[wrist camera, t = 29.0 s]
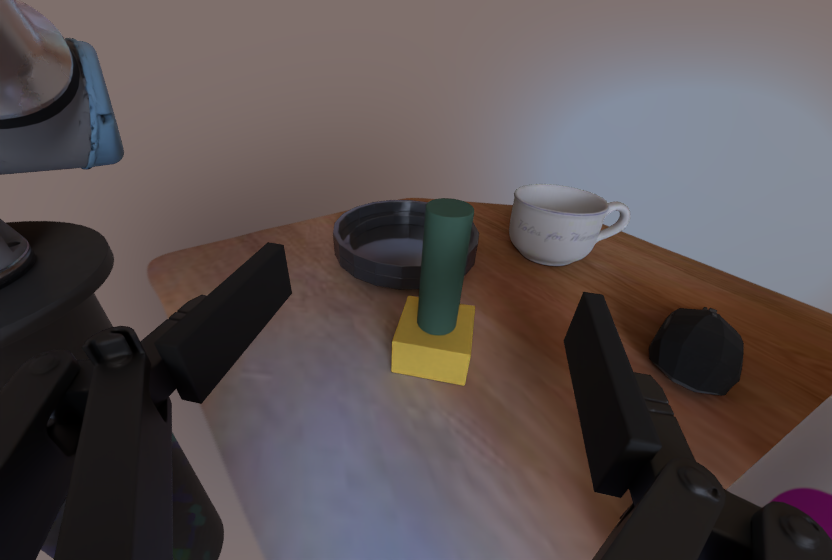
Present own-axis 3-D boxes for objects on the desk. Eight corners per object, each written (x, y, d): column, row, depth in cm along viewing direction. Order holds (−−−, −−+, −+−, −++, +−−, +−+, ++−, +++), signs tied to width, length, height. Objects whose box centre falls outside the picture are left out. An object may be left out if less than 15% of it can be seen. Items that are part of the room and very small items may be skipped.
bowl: (311, 279, 39) (307, 251, 37) (361, 216, 53) (361, 193, 51) (468, 305, 37) (473, 277, 35) (478, 232, 51) (482, 209, 49)
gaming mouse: (740, 323, 37) (763, 292, 35) (725, 415, 28) (756, 380, 25) (671, 297, 40) (688, 267, 38) (637, 371, 31) (657, 337, 29)
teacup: (499, 266, 44) (513, 204, 39) (504, 229, 52) (516, 174, 48) (622, 289, 41) (652, 225, 37) (606, 245, 50) (628, 190, 45)
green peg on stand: (390, 372, 29) (395, 219, 22) (406, 324, 34) (414, 186, 26) (464, 386, 28) (495, 233, 21) (469, 335, 33) (496, 196, 26)
